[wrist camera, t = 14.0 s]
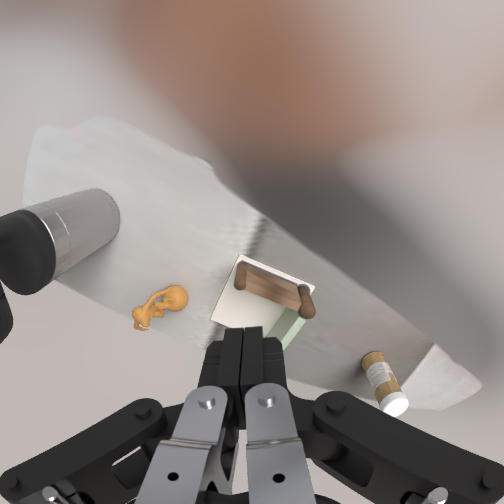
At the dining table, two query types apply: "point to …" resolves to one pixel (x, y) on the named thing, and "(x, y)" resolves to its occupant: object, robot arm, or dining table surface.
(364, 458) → the robot arm
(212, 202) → the dining table surface
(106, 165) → the dining table surface
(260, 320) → the card
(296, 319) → the swing panel
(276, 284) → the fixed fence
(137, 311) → the figurine
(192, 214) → the dining table surface
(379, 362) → the sprinkles bottle
